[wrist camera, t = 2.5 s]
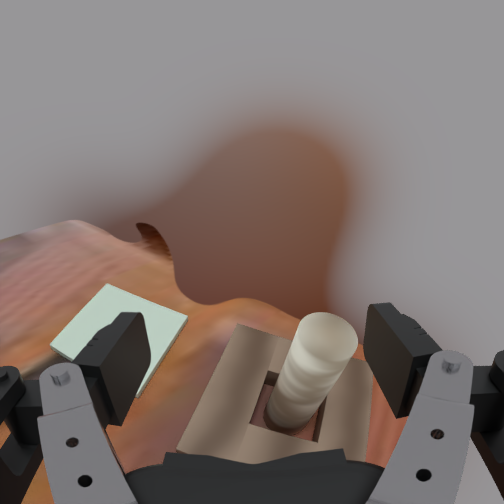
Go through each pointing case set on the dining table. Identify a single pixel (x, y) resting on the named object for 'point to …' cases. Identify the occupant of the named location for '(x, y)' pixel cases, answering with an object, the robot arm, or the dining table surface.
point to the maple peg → (309, 371)
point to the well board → (246, 395)
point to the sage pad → (105, 311)
